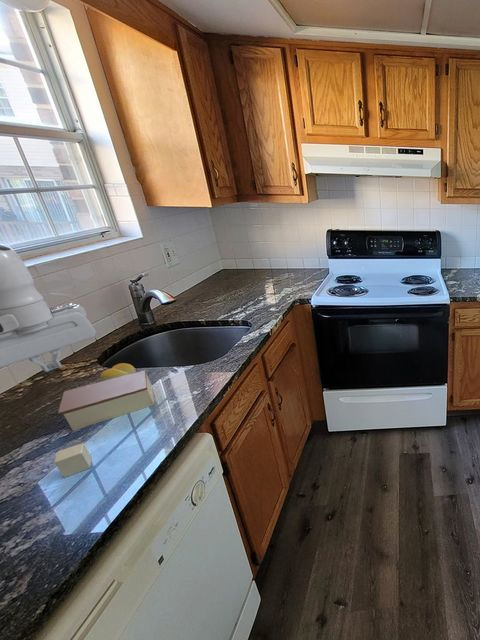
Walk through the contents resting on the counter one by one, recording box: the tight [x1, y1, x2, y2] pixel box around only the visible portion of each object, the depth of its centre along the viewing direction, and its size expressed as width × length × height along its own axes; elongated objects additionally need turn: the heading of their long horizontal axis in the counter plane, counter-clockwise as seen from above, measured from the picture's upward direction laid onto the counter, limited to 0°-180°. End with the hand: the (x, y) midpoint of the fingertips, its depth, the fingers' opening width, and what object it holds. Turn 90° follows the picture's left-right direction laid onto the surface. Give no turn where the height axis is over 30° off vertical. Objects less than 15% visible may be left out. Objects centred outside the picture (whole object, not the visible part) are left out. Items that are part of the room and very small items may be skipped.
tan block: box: [54, 442, 93, 478], centre depth 83 cm, size 4×4×4 cm
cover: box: [57, 369, 147, 416], centre depth 104 cm, size 18×14×1 cm
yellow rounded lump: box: [99, 362, 137, 382], centre depth 121 cm, size 8×9×4 cm
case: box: [63, 373, 155, 432], centre depth 105 cm, size 18×14×5 cm
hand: (53, 369), depth 88 cm, fingers closed
